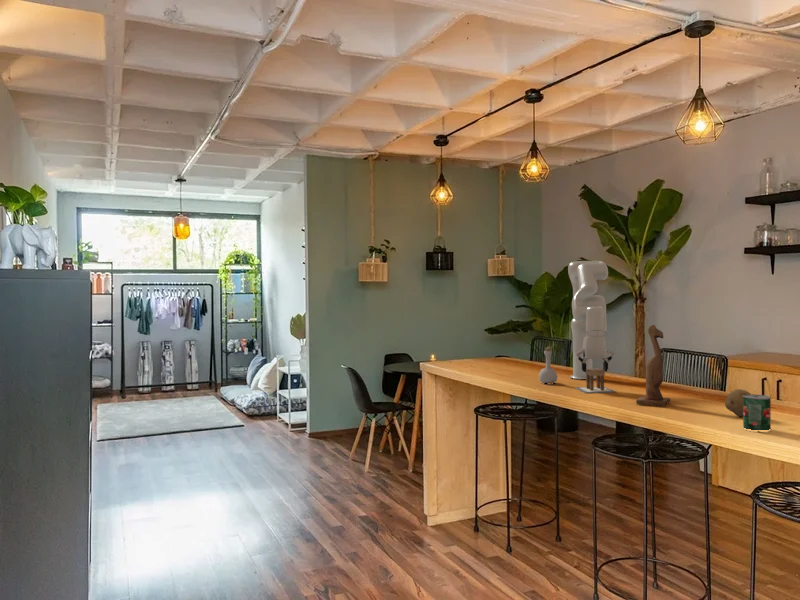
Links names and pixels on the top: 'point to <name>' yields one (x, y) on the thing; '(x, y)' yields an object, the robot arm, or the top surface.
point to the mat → (595, 390)
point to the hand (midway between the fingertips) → (594, 371)
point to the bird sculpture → (654, 373)
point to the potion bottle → (548, 370)
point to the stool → (590, 378)
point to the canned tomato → (756, 412)
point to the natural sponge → (736, 401)
